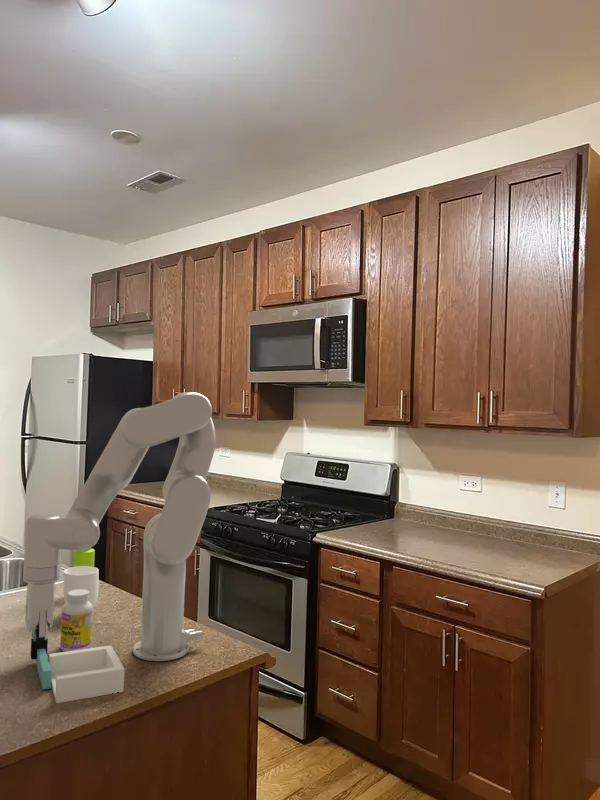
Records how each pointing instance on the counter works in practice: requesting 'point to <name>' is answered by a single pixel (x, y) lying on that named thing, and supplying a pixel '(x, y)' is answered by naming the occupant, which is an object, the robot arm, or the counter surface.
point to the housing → (85, 673)
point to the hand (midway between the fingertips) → (38, 657)
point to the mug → (82, 581)
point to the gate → (44, 669)
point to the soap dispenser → (84, 558)
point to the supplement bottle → (76, 621)
